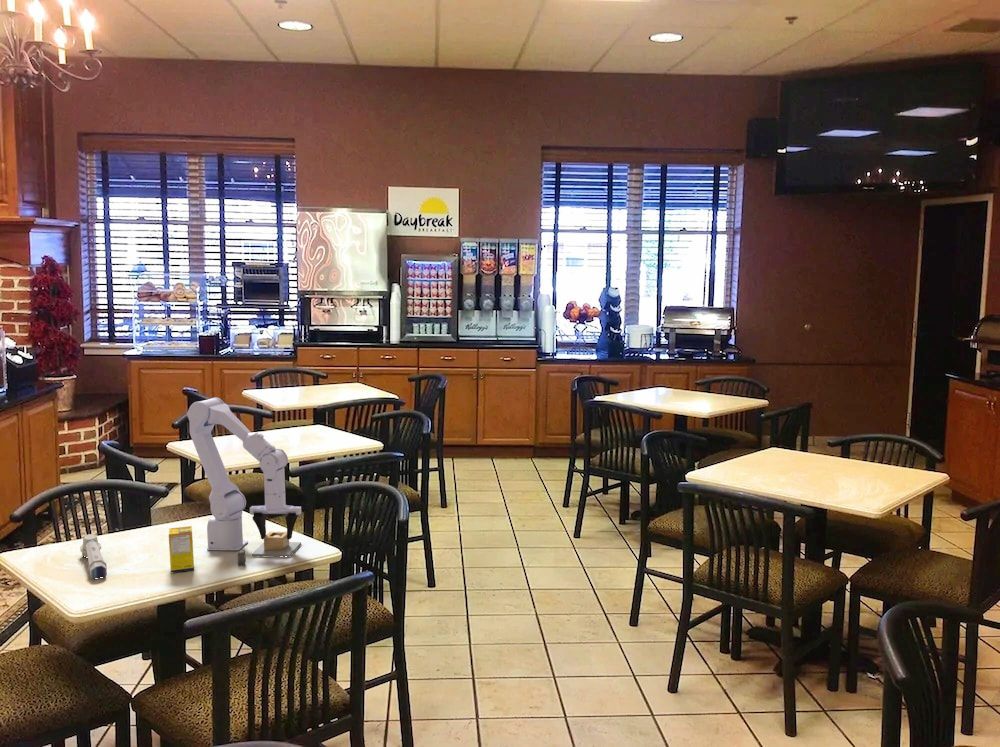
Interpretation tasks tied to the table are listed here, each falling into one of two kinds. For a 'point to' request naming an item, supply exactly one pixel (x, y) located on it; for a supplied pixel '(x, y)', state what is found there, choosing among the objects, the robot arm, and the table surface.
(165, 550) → the table surface
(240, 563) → the stand rod
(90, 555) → the white flashlight
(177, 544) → the supplement box
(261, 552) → the hub plate
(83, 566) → the table surface
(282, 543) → the open wooden box
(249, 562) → the table surface
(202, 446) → the robot arm
